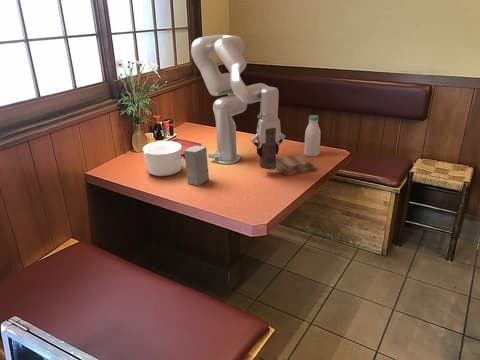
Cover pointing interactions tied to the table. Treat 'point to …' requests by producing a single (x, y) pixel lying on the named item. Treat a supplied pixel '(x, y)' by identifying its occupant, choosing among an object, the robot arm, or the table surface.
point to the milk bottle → (312, 137)
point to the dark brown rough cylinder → (269, 150)
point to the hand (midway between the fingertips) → (267, 154)
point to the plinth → (293, 165)
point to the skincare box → (196, 165)
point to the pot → (163, 157)
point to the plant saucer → (185, 145)
